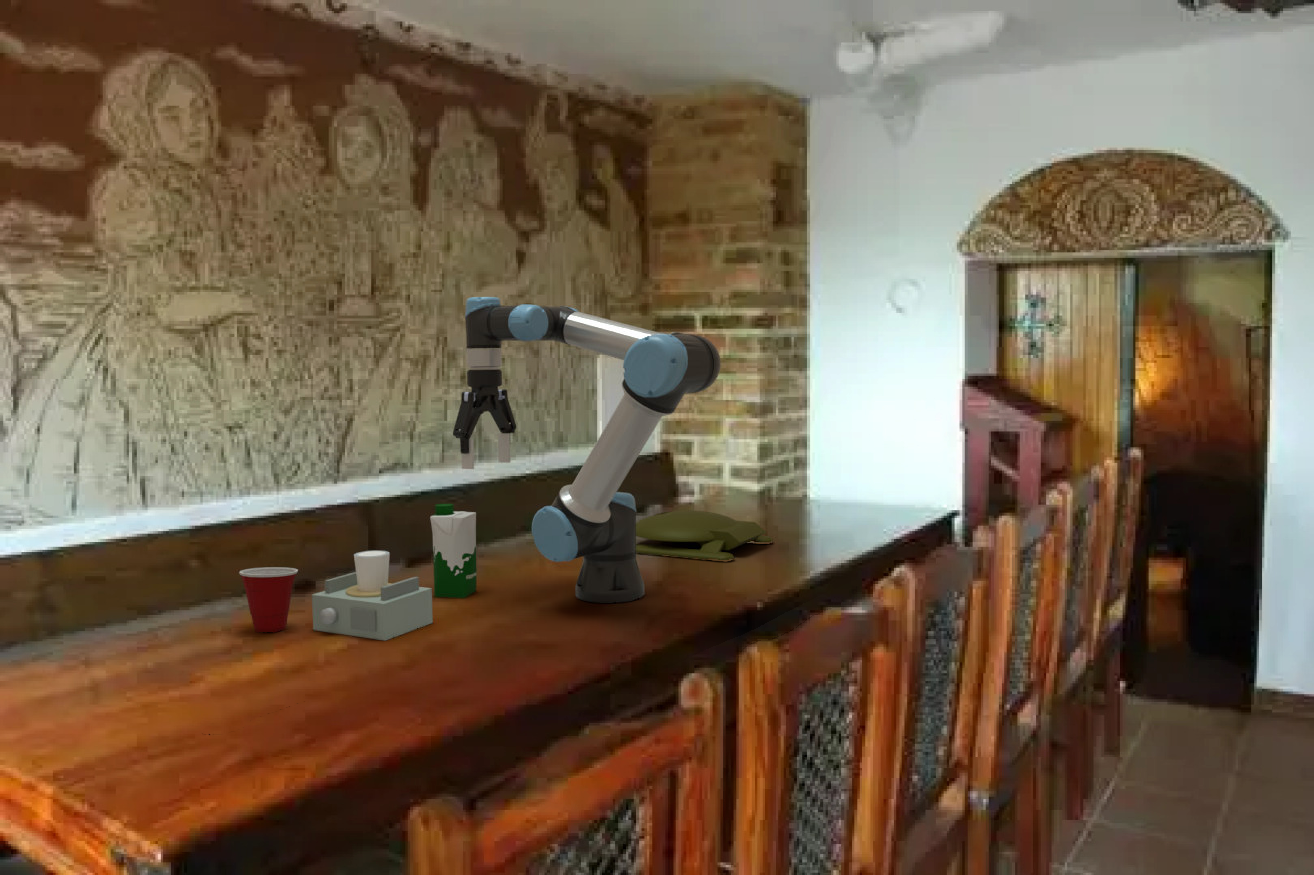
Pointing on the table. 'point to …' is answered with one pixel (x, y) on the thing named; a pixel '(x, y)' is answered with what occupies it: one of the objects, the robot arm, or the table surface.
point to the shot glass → (372, 570)
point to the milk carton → (454, 551)
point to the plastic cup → (269, 596)
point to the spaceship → (697, 534)
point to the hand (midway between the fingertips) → (486, 465)
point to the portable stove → (371, 608)
